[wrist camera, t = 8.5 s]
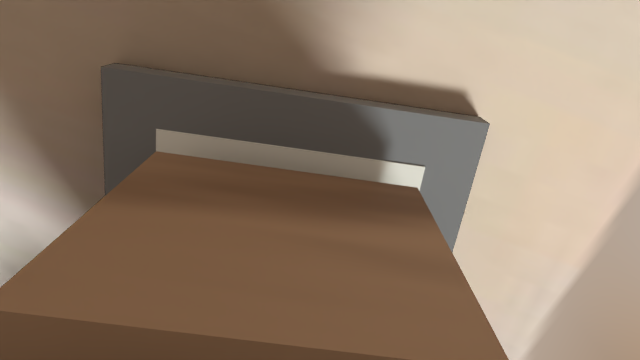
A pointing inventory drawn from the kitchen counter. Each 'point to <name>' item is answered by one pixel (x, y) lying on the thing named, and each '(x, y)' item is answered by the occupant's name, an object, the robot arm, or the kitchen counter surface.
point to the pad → (290, 134)
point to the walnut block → (246, 273)
